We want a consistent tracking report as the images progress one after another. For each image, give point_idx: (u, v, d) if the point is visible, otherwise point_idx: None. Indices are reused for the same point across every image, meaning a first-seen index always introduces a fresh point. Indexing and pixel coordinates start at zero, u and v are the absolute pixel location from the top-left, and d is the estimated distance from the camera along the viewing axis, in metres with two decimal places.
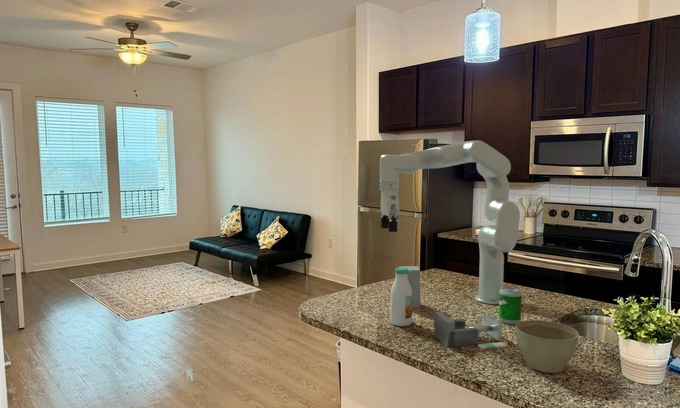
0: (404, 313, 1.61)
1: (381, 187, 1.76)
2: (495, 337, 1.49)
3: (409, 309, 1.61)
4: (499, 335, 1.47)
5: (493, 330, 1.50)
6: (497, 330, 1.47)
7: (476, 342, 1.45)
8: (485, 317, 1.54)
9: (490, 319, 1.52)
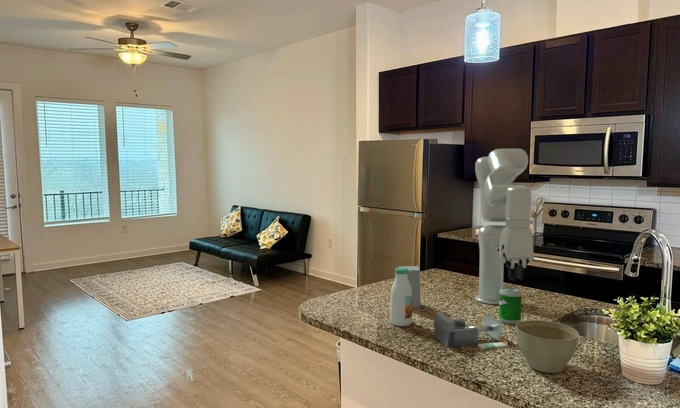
0: (404, 313, 1.61)
1: (527, 226, 1.47)
2: (495, 337, 1.49)
3: (409, 309, 1.61)
4: (499, 335, 1.47)
5: (493, 330, 1.50)
6: (497, 330, 1.47)
7: (476, 342, 1.45)
8: (485, 317, 1.54)
9: (490, 319, 1.52)
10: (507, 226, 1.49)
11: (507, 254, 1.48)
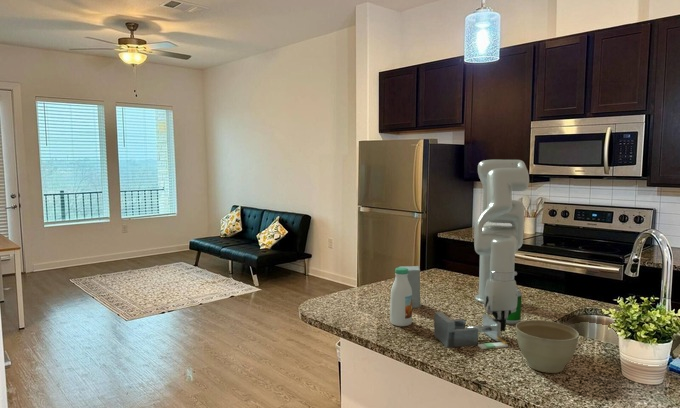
0: (404, 313, 1.61)
1: (511, 279, 1.47)
2: (494, 337, 1.49)
3: (409, 309, 1.61)
4: (497, 335, 1.47)
5: (492, 330, 1.50)
6: (496, 330, 1.47)
7: (476, 342, 1.45)
8: (484, 317, 1.54)
9: (489, 319, 1.51)
10: (491, 278, 1.50)
11: (491, 306, 1.48)
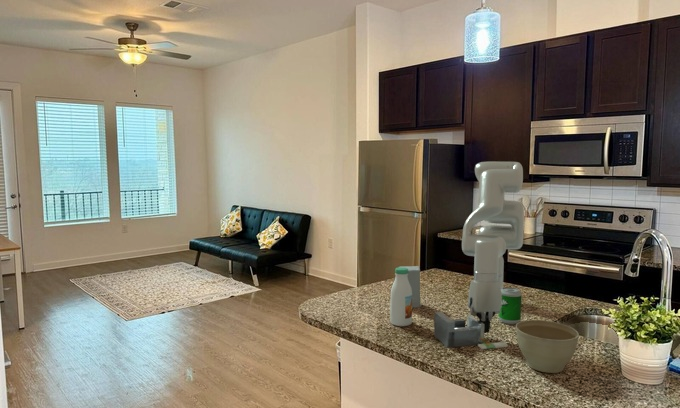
0: (404, 313, 1.61)
1: (494, 280, 1.46)
2: None
3: (409, 309, 1.61)
4: (481, 337, 1.46)
5: None
6: (479, 332, 1.46)
7: (476, 342, 1.45)
8: (468, 319, 1.53)
9: (473, 320, 1.50)
10: (475, 279, 1.48)
11: (475, 307, 1.47)
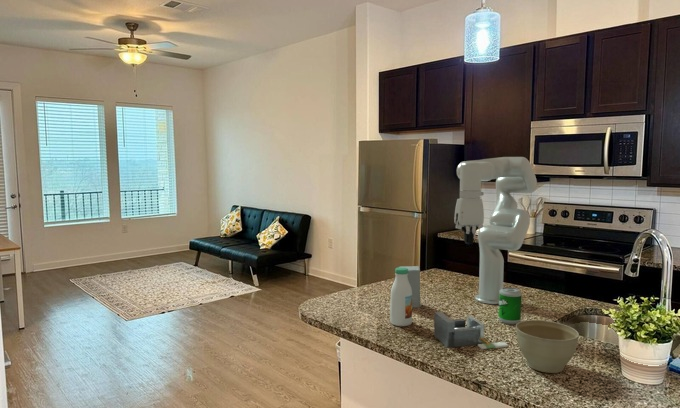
0: (404, 313, 1.61)
1: (477, 196, 1.67)
2: None
3: (409, 309, 1.61)
4: (481, 337, 1.46)
5: None
6: (479, 332, 1.46)
7: (476, 342, 1.45)
8: (468, 319, 1.53)
9: (472, 320, 1.50)
10: (460, 197, 1.70)
11: (460, 221, 1.69)
